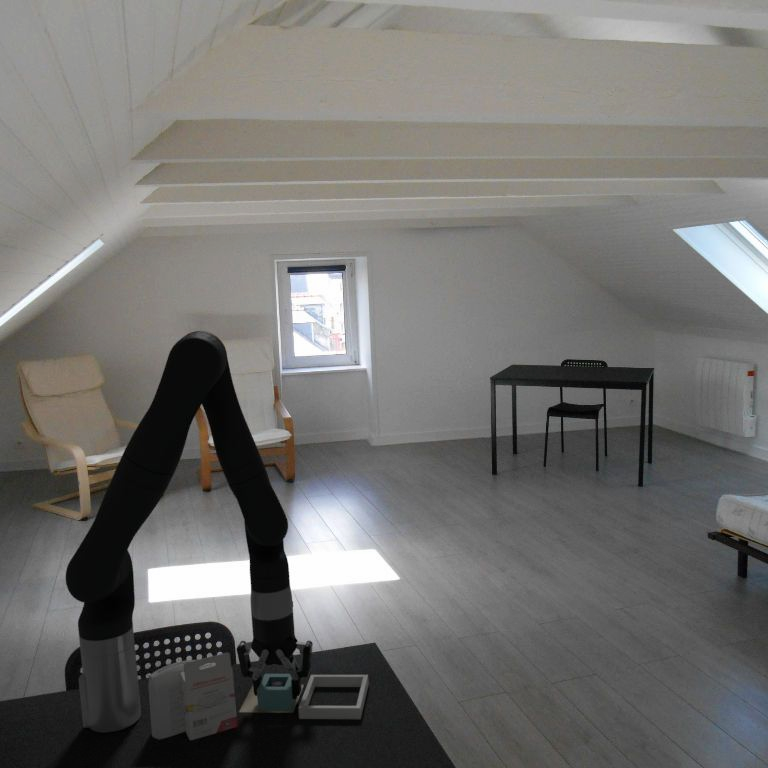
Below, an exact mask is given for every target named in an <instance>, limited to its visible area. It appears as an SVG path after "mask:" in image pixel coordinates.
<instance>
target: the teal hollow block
mask: <svg viewBox="0 0 768 768" xmlns="http://www.w3.org/2000/svg"><path fill="white" fill-rule="evenodd" d="M291 680H292V677H291V675H290V674H289V673H264V675H263V680H262V682H261V684H260V685H259V687H258V689H257V698H258V711H291V710H292V707H293V705H294V702H295V700H296V699H293V695H292V685H291ZM274 682H282V683H283V687H272V683H274Z"/></svg>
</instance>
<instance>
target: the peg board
mask: <svg viewBox="0 0 768 768" xmlns="http://www.w3.org/2000/svg"><path fill="white" fill-rule="evenodd" d="M304 686H305V685H304V684H301V692H300V695H299V696H298V697H297V699H296V700H295V702H294V705H293V707H292V710H291V711H258V699H257V696H255V694H254V689H253V685H252V686H251V688H250V689H249V691H248V693H247V696H246V698H245V699H244V701H243V703H242V705H241V707H240V709H239V711H238V713H252V714H253V713H257V714H258V713H262V714H263V713H268V714H269V713H275V714H276V713H280V714H283V713H286V714H288V713H289V714H292V713H294V712H295V709H296V706H297V704H298V701H299V699H300V696H301V694H302V692H303V688H304ZM272 687H283V683H282V682H274V683H272Z"/></svg>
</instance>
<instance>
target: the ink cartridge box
mask: <svg viewBox="0 0 768 768" xmlns="http://www.w3.org/2000/svg"><path fill="white" fill-rule="evenodd" d="M195 660H196V661H192V662H187V663H185V664H184V672H180V678H181V689H182V700H183V710H184V721H185V730H186V732H185V733H186V735H187V737H188V739H189V741H194V740H198V739H201V738H203V737H204V738H205V737H208V736H212V735H215V734H218V733H221V732H225V731H228V730H231V729H235V728H238V727H239V726H238V725H239V724H238V717H237V705H236V704H237V703H236V693H235V682H234V680H235V679H234V671H233V668H232V662H231V654H230V653H229V652H224V653H220V654H216V655H212V656H208V657H203V658H199V659H195Z"/></svg>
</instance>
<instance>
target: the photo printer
mask: <svg viewBox="0 0 768 768" xmlns="http://www.w3.org/2000/svg"><path fill="white" fill-rule="evenodd" d="M196 660H197V659H189V660H188V659H187V660H181V661H177V662H174V663H171V664H168V665H165V666H163V667H161V668H159V669H157V670H155V671H154V672H152V673H151V674H150V675H149V676H148V685H147V686H148V687H147V688H148V699H149V701H148V702H149V714H150V726H151V727H150V728H151V737H152V738H153V739H157V740H158V741H159V740H163V739H167V738H169V737H173V736H176V735H179V734H182V733H186V730H185V721H184V710H183V700H182V689H181V678H180V672H184V664H185V663H187V662H192V661H196Z"/></svg>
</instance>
